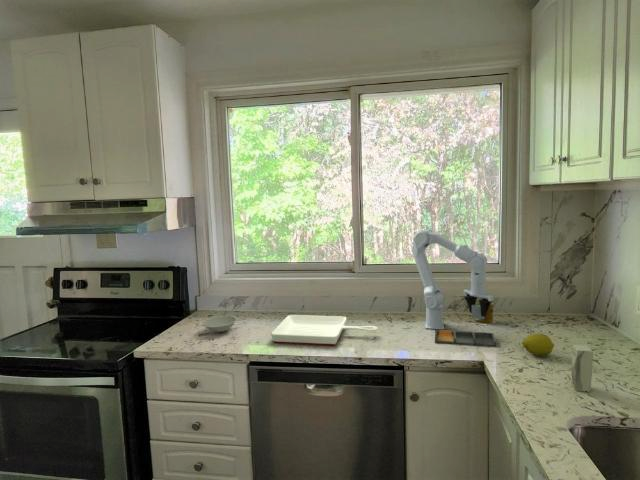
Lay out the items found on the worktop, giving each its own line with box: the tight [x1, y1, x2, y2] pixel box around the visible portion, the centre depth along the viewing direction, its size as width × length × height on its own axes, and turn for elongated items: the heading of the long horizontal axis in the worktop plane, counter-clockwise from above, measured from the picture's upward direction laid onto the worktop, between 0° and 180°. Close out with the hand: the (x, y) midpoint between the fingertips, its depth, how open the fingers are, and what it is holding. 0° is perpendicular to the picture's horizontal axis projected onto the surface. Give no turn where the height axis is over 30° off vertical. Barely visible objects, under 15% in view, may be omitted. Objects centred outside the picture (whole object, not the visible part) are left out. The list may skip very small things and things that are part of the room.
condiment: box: [472, 298, 497, 326], centre depth 194 cm, size 7×8×12 cm
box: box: [570, 344, 594, 393], centre depth 128 cm, size 5×4×13 cm
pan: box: [270, 314, 379, 347], centre depth 183 cm, size 28×44×5 cm, turn 78°
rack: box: [434, 329, 497, 348], centre depth 171 cm, size 10×23×2 cm, turn 74°
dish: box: [202, 315, 238, 333], centre depth 192 cm, size 18×14×5 cm
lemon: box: [521, 333, 555, 357], centre depth 154 cm, size 11×8×8 cm
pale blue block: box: [471, 304, 484, 320], centre depth 179 cm, size 3×5×5 cm, turn 71°
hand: (477, 314), depth 179 cm, fingers closed on pale blue block, 6 cm apart
